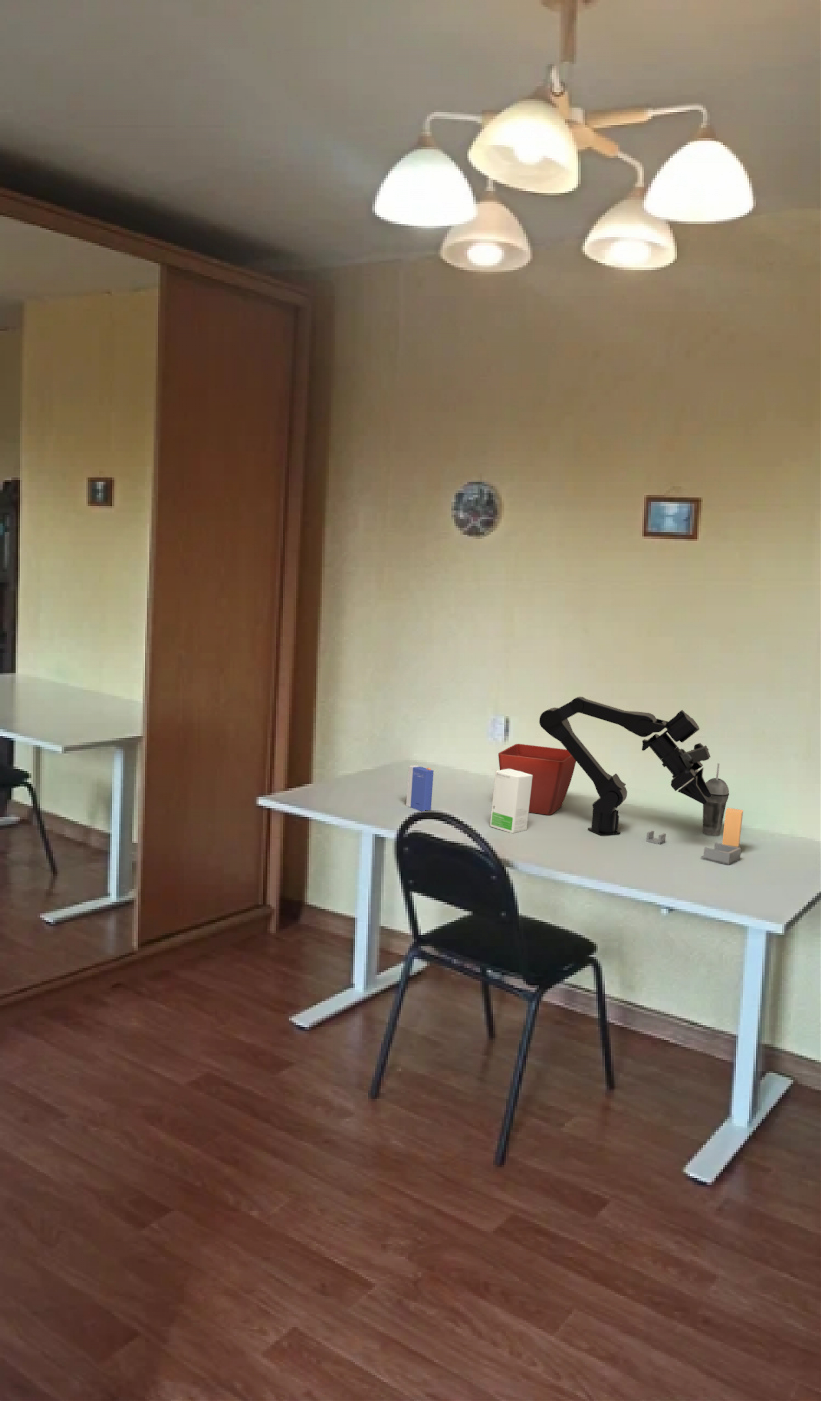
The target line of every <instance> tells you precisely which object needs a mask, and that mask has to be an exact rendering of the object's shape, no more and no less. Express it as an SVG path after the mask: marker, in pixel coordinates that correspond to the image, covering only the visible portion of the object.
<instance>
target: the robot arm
mask: <svg viewBox="0 0 821 1401" xmlns="http://www.w3.org/2000/svg"><path fill="white" fill-rule="evenodd" d="M579 713H580V714H582V715H585V716H588V717H592V718H595V719H599V720H603V721H606V722H609V723H611V724H616V725H619V726H620V727H622V728H624V729H626V730H627V731H628V732H631V733H632V734H634V735H636V736H638V737H640V738H646V737H649V736H651V735H652V734H653V735H652V736H651V737H649V738H648V739H643V740H642V741H641V742H642V747H641V751H642V752H645V751H646V750H647V749H648V748H650V749H651V750H652V752H653V753H654V754H655V755H656V757H657V758H658V759H659V760H660V761H661V763H662V764H661V765H662V767H663V768H665V767H666V768H667V770H668V771H669V772H670V774H671V775H672V776H671V777H672V779H671V782H670V786H671V787H672V789H673V790H674V791H675V792H676V791H677V793H680V794H683V795H685V796H687V797H689V798H691V799H693V800H694V801H696V802H698V803H699V804H700V803H701V804H702V805H703V804H706V803H707V800H706V799H705V797H704V795H705V796H706V797H708V798H709V797H710V796H711V793H710V791H709V789H708V787H707V785H706V780H705V778H704V776H703V775H704V774H703V773H704V767H703V766H704V765H703V763H701V762H702V761H703V762H706V761H708V760H710V758H711V755H710V752H709V750H710V749H709V748H708V746H707V745H703V744H702V743H701V742H698V743H695V744H694V745H693V749H691V750H689V751H685V748H680V747H679V746H678V745H677V744H676V743H679V742H680V743H684V742H685V741H687V740H688V739H690V737H691V736H693V735H695V733H698V731H700V726H699V725H698V723H697V722H696V721H695V719H694V718H693V717H691V716H690V715H689V714H688V713H686V712H685V711H684V710H683V709H681V710H680V711H678V712H677V713H676V715H675V716H673V717H672V718H671V719H670V720H668V721H667V720H663V719H660V718H656V715H654V714H652V713H650V712H646V711H645V712H644V711H634V710H633V711H631V710H630V711H629V710H624V709H621V708H618V707H614V706H611V705H608V704H604V703H601V702H597V701H593V700H591V699H587V698H585V697H583V696H577V697H575V698H573V699H572V700H571V701H570V702H568V703H565V704H563V705H561V706H560V707H551V708H548V709H547V710H545V711H543V712H542V713H541V714H540V716H539V721H538V722H539V726H540V727H541V728H542V729H543V730H544V732H547V734H548V735H550V736H551V737H552V738H554V739H556V740H557V741H559V742H560V743H561V744H562V746H563V747H564V748H565V749H566V750H568V752H569V753H570V754H571V755H572V757H573V758H574V759H575V760H576V764H578V765H579V766H580V768H582V770H583V771H584V773H585V774H586V775H587V776H588V778H589V779H590V780H591V781H592V783H593V785H594V787H595V790H596V793H597V795H598V797H599V798H598V799H596V801H594V803H592V816H591V818H592V819H591V826H590V827H587V830H588V831H589V832H592V833H595V834H597V835H599V836H610V835H620V834H621V832H620V831H618V830H619V821H620V819H619V818H620V816H619V810H618V809H617V808H618V807H620V805H622V803H623V802H625V800H626V799H627V798H628V797H627V796H628V790H627V788H626V785H627V784H626V783H625V782H623V781H622V780H621V778H620V776H619V775H618V774H617V773H614V774H613V775H611V774H609V773H608V772H606V770H605V769H604V767H602V766H601V765H600V763H599V762H598V760H597V759H596V758H595V757H594V756H593V754H591V752H590V751H589V749H588V748H587V747H586V746H585V745H584V743H583V742H582V741H581V740H580V739H579V738H578V736H577V735H576V734H575V732H574V731H573V728H572V725H571V722H570V721H569V718H571V717H573V716H575V715H576V714H579ZM664 729H665V731H664V732H662V731H663V730H664ZM661 732H662V733H661ZM654 733H655V734H654ZM658 733H661V734H658Z"/></svg>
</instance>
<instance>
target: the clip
mask: <svg viewBox="0 0 821 1401" xmlns="http://www.w3.org/2000/svg"><path fill="white" fill-rule="evenodd" d="M666 837H667V834H666V833H661V834H658V838H657V837H655V831H654V830H651V831H647V832H646V839H645V840H646V842H648V843H653V844H656V845H663V844H665V843H666Z"/></svg>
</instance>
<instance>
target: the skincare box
mask: <svg viewBox="0 0 821 1401" xmlns="http://www.w3.org/2000/svg"><path fill="white" fill-rule="evenodd" d="M494 775H495V776H494V785H493V794H492V803H491V813H490V822H489V823H490V824H489V826H490V827H491V828H494V829H498V830H502V831H504V832H507V833H510V834H516V833H520V831H521V832H525V831H527V829H528V819H529V813H530V812H529V803H530V794H531V785H532V777H533V775H531V774H527V773H524V772H521V771H517V770H513V769H504V770H500V769H499V770H495V774H494ZM524 830H525V831H524Z"/></svg>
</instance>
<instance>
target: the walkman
mask: <svg viewBox="0 0 821 1401" xmlns="http://www.w3.org/2000/svg"><path fill="white" fill-rule="evenodd" d="M407 773H408V774H407V775H408V776H407V787H406V801H405V802H406V803H405V804H406V807H408V806H409V808H412V809H415V810H417V811H420V812H423V811H425V810H431V811H432V799H433V798H432V797H433V784H434V770H433V769H432V768H430V767H423V766H420V765H415V764H414V765H408V772H407Z"/></svg>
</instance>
